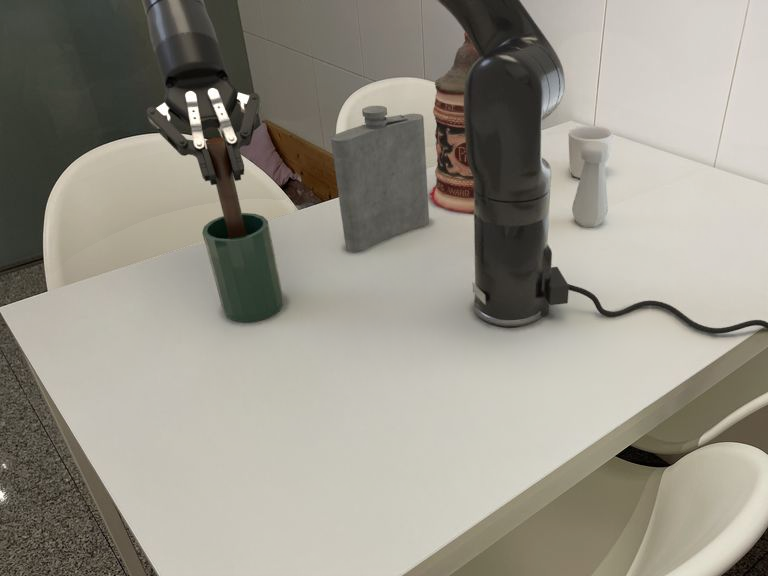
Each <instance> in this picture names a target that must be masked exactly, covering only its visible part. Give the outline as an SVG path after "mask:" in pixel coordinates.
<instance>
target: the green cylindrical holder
mask: <svg viewBox="0 0 768 576" xmlns="http://www.w3.org/2000/svg"><path fill="white" fill-rule="evenodd" d="M242 217H243V221H244V225H245V230H246V234H251V235H248V236H245V237H241V238H234V239H225V238H227V237H229V236H228V232H227V227H226V223H225V219H224V215H223V216H219V217H217V218H214V219H212V220H211V221H209V222H208V223H206V224H205V225H204V226H203V228H202V233H201V234H202V237H203V241H204V245H205V249H206V252H207V256H208V260H209V263H210V267H211V271H212V275H213V278H214V283H215V286H216V291H217V293H218V298H219V300H220V301H219V302H220V304H221V308H222V310H223V314H224V316H225V317H226V318H227V319H228V320H231V321H233V322H237V323H255V322H260V321H264V320H267V319H270V318H272V317H273V316H275V315H276V314H278V313H279V312H280V311H281V310H282V309H283V307H284V305H285V301H284V296H283V289H282V284H281V280H280V275H279V270H278V264H277V259H276V254H275V249H274V245H273V239H272V235H271V230H270V225H269V221H268V219H267V218H266V217H264V215H260V214H257V213H250V212H242Z"/></svg>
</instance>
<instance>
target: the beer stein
mask: <svg viewBox="0 0 768 576" xmlns="http://www.w3.org/2000/svg"><path fill="white" fill-rule="evenodd" d="M479 58H480V57H479V55H478V53H477V52H476V50H475V48H474V46H473V44H472V43H471V41H470V39H469V37H468V36H467V34H466V33H465V32H464V42H463V44H462V45H461V46H460V47H459V48H458V49H457V51H456V54H455V58H454V60H453V65H452V66H451V68H450V70H448V71H447V72H446V74H444V75H443V76H441V77H439V78H437V79H436V80H435V81H434V86H435V90H436V94H435V99H434V106H433V109H432V113H433V116H434V120H435V123H436V128H435V132H434V137H435V150H436V156H437V157H436V162H437V166H436V167H435V170H434V175H435V177H436V179H435V180H436V183H435V186H434V187H433V188H432V190H431V192H429V196H430V197H429V196H428V199H430V200H432V202H433V203H434V204H435V205H436V206H438V207H441V208H443V209H446V210H448V211H452V212H458V213H468V214H474V179H473V175H472V172H471V170H470V168H469V165H468V161H467V154H466V139H465V123H464V88H465V82H466V78H467V75H468V73H469V70H470V69H471V67H472V65H473V64H474V63H475V62H476V61H477V60H478V59H479Z"/></svg>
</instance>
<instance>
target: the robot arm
mask: <svg viewBox="0 0 768 576" xmlns="http://www.w3.org/2000/svg"><path fill="white" fill-rule="evenodd" d="M436 1H437V2H438V3H439V4H440V5H441V6H442V7H443V8H444V9H446V11H448V12H449V13H450V15H451V16H452V17H453V18H454V19H455V20H456V21H457V22H458V24H459V25H460V27H461V28H462V30H463V32H464V33H466V34H467V36H468V37H469V39H470V41H471V43H472V44H473V46H474V48H475V50H476V52H477V53H478V55H479V57H480V58H479V59H478V60H477V61H476V62H475V63H474V64H473V65H472V67H471V69H470V70H469V73H468V75H467V78H466V82H465V88H464V123H465V139H466V154H467V161H468V165H469V168H470V170H471V172H472V175H473V179H474V213H473V223H474V224H473V225H474V227H473V230H474V233H473V234H474V240H473V241H474V282H472V289H471V290H472V293H473V294H474V312H475V313H476V315H477V316H478V317H479V318H480V319H481V320H483V321H484V322H487V323H489V324H491V325H496V326H501V327H519V326H525V325H529V324H531V323H534V322H535V321H537V320H538V319H540V318H541V317H547V316H549V311H550V306H557V305H565V304H568V303H569V292H570V291H571V292H574V293H577V294H581V295H583V296H585V297H587V298H588V299H590V301H592V303H593V304H594V306H595V308H596V310H597V311H598V313H600V314H601V315H602V316H606V317H608V318H616V317H620V316H623V315H626V314H628V313H632V312H633V311H635V310H637V309H640V308H643V307H657V308H661V309H665V310H666V311H668V312H670V313H672V314H673V315H675V316H676V317H677V318H679V319H680V320H681V321H682V322H683V323H685V324H686V325H688V326H690V327H691V328H693V329H695V330H698V331H700V332H704V333H708V334H713V335H714V334H717V335H719V334H720V335H722V334H729V333H733V332H736V331H739V330H743V329H746V328H749V327H755V326H756V327H757V326H759V327H763V328H765V329H767V330H768V321H765V320H762V319H751V320H746V321H743V322H740V323H738V324H733V325H730V326H726V327H724V326H723V327H709V326H707V325H702V324H700V323H698V322H697V321H696V322H695V321H693V320H692V318H689V317H688V316H686V314H684V313H683V312H681V310H679V309H677V308H676V307H674V306H672V305H670V304H668V303H665V302H662V301H658V300H650V299H649V300H642V301H639V302H636V303H633V304H631V305H629V306H628V307H626V308H623V309H621V310H617V311H616V310H615V311H610V310H607V309H605V308H603V306H602V304H601V302H600V300H599V299H598V297H597V296H596V295H595V294H594V293H592V292H591V291H589V290H587V289H586V288H584V287H583V288H582V287H580V286H577V285H573V284H569V283H568V282H567V281H566V279H565V277H564V275H563V274H562V272H561V270H560V269H559V266H552V264H553V263H552V261H553V251H552V249H551V247H550V245H549V244H548V240H549V224H550V223H549V222H550V204H551V203H550V202H551V201H550V200H551V187H552V185H551V184H552V168H551V165H550V163H549V162H548V161H547V160H546V158H544V157H543V156H542V129H543V128H542V126H543V121H544V120H545V119H547V118H548V117H549V116H551V114H553V113H554V112H555V111H556V110H557V108H558V107H559V106H560V104H561V102H562V101H563V98H564V95H565V88H566V77H565V71H564V67H563V64H562V62H561V59H560V58H559V55H558V54H557V52H556V50H555V49H554V47H553V45H551V43H550V41H549V40H548V39H547V37H546V35H545V34H544V33H543V31H542V30H541V28H540V27H539V26H538V25H537V23H536V22H535V20H534V19H533V17H532V16H531V14H530V13H529V12H528V10H527V8H526V7H525V6H524V5H523V3H522V2H521V0H436ZM141 2H142V6H143V9H144V13H145V16H146V21H147V27H148V32H149V38H150V42H151V45H152V51H153V54H154V56H155V59H156V62H157V66H158V69H159V73H160V77H161V80H162V82H163V86H164V89H165V93H164V96H163V101H164V102H163V103H161V104H160V105H158V106H157V107H154V106H148V108H147V109H146V114H147V118H148V121H149V124H150V125H151V127H153V129H155V130H156V131H157V132H158V134H159V135H160V136H161V137H162V138H163V139H164V140H165V141H166V142H167V143H168V144H169V145H170V146H172V148H173V149H174V150H176V151H177V153H178V154H179V155H180V156H183V157H185V156H193V157H195V159H196V160H197V163H198V166H199V169H200V173H201V176H202V179H203V180H204V181H205V182H209V184H210V185H211V186H216V184H217V179H216V175H215V171H214V168H213V164H212V161H211V158H210V154H209V151H208V149H207V146H206V142H205V137H204V132H203V131H204V130H207V129H209V128H213V129H217V130H218V132H219V134H220V136H221V138H224V139H225V142H226V147H227V152H228V156H229V160H230V165H231V169H232V173H233V177H234V182H237V181H241V180H242V176H243V175H245V163H244V161H243V157H242V155H241V154H242V153H241V150H240V149H241V148H242V147H244V146H245V147H248V146H250V145H251V143H252V140H253V135H254V131H255V128H256V123H257V120H258V116H259V112H260V95H259V94H258V93H256V92H251V93H250V94H245V93H241V92H239V91H238V88H237V87H236V86H235V85H234V84H233V83H232V81H231V80H230V77H229V73H228V70H227V67H226V63H225V60H224V56H223V53H222V50H221V48H220V44H219V40H218V38H217V34H216V31H215V28H214V25H213V23H212V21H211V18H210V17H209V14H208V12H207V8H206V5H205V1H204V0H141ZM237 104H238V105H239V106H240V112H241V113H243V117H242V122H241V124H240V125H241V126H240V130H239V131H236V132H235V130H234V128H233V126H232V123H231V117H232V115H233V112H234V110H235V109H236V106H237ZM170 113H171V114H172V115H173V116H174V117H176V118H177V119H178V120H180V121H181V122H182V123H184V124H185V125H186V126H187V127H188V128H190V130H191V136H192V139H189V138H188V139H187V138H186V137H185V136H184V135H183V134H182V132H180V131H179V130H178V129H177V128H176V126H174V125H173V124H172V119H171V115H170Z"/></svg>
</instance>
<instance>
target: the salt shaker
mask: <svg viewBox="0 0 768 576" xmlns="http://www.w3.org/2000/svg"><path fill="white" fill-rule="evenodd" d="M581 157H582V159H583V160H584V161H585V162H584V166H583V169H582V173H581V177H580V178H579V180H578V185H577V189H576V192H575V196H574V199H573V202H572V206H571V211H572V215H573V217H574V220H575V223H576V224H578V225H580V226H582V227H585V228H586V227H587V228H596V227H598V226H600V225H602V224H603V222H604V220H605V219H606V216H607V214H608V211H609V205H608V193H607V190H608V189H607V177H606V170H605V161H607V160H608V161H609V158H610V152H609V147H608V146H607V145H606V144H605V143H602V142H589V143H586V144H585V145H584V146H583V147H582V152H581Z"/></svg>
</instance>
